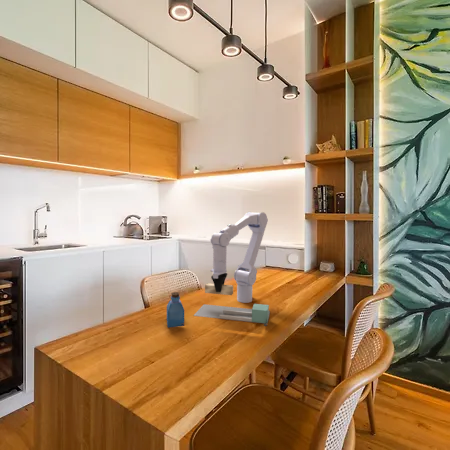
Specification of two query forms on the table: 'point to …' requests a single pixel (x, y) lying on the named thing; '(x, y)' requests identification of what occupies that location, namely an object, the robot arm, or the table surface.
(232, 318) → the board
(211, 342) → the table surface
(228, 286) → the slat
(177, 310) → the perfume bottle
